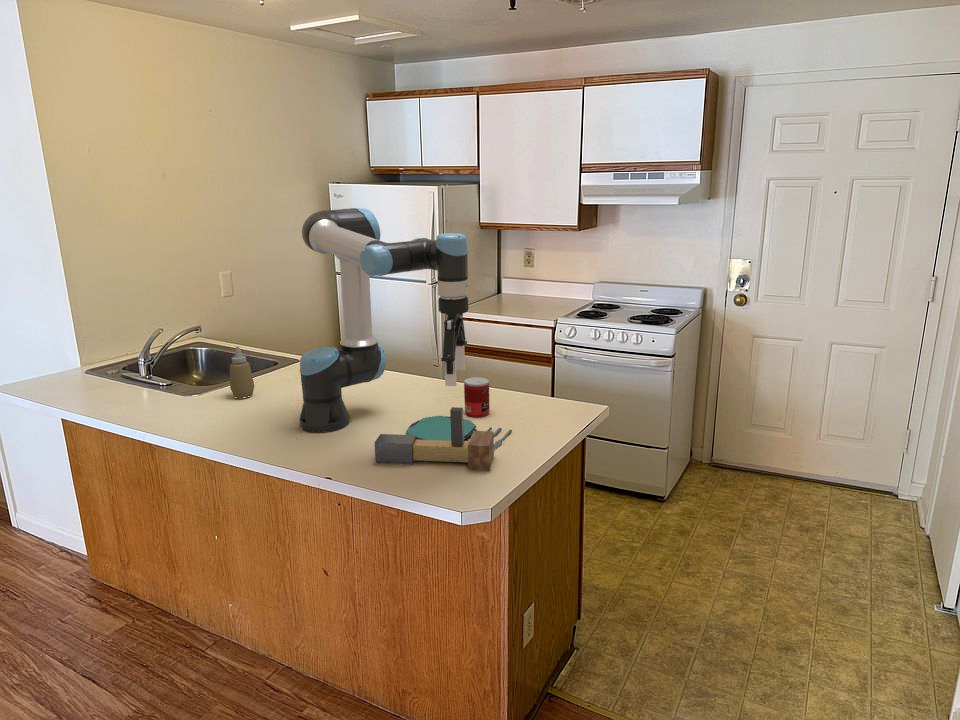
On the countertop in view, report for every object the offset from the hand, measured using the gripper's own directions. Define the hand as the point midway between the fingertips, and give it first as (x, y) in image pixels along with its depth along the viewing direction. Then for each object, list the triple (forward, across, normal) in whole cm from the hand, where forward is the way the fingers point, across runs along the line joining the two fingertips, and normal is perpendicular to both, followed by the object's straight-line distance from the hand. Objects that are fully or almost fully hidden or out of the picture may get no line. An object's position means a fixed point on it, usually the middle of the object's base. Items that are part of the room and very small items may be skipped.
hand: (455, 377), depth 177 cm
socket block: (+24, 0, -6) cm, 24 cm away
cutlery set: (+24, +18, +3) cm, 31 cm away
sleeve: (+24, 0, +17) cm, 29 cm away
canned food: (+24, +37, 0) cm, 44 cm away
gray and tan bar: (+24, 0, +5) cm, 24 cm away
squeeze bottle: (+24, +47, +84) cm, 99 cm away
